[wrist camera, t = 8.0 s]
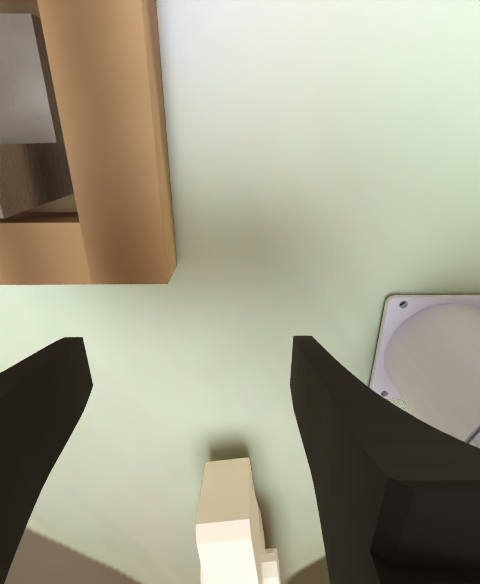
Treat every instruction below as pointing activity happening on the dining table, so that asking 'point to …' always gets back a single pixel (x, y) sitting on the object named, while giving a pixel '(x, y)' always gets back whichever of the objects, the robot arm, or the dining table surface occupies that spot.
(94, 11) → the oak well block
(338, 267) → the dining table surface
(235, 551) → the shelf bracket
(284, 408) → the dining table surface
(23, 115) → the steel bracket
